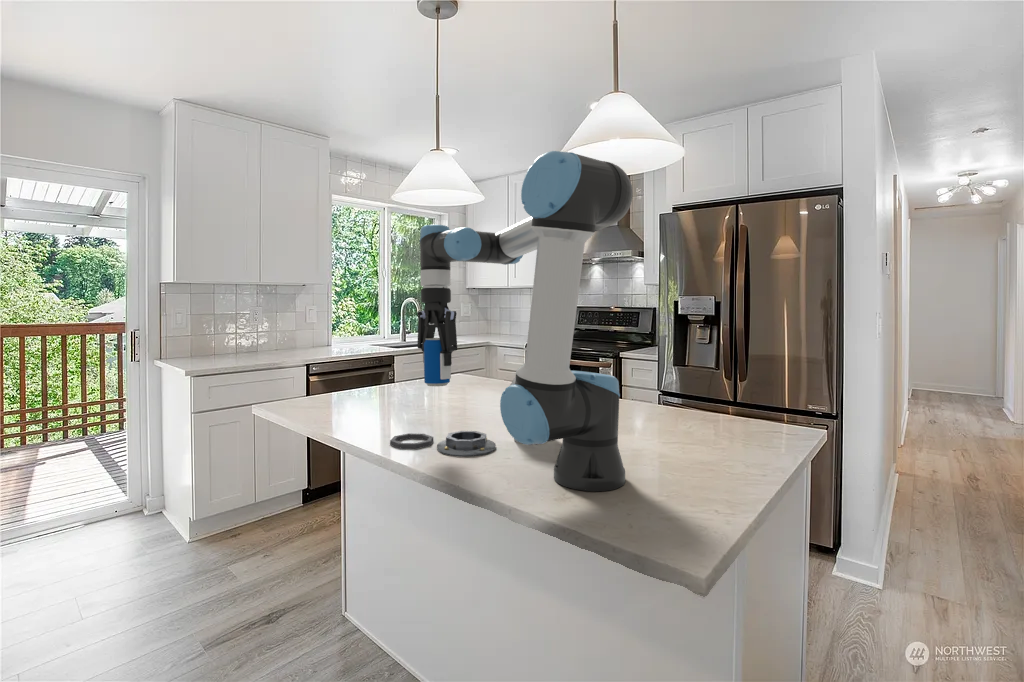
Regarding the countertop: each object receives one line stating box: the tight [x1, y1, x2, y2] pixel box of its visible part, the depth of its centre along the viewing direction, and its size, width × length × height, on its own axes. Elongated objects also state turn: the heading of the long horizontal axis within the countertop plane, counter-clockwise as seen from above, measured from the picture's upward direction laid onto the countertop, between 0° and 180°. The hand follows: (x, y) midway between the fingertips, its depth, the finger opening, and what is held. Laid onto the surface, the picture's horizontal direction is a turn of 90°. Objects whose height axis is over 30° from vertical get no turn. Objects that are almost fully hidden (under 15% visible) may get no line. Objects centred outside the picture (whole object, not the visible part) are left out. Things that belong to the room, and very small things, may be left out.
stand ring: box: [389, 432, 434, 450], centre depth 141 cm, size 10×10×1 cm
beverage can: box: [423, 337, 451, 387], centre depth 137 cm, size 6×6×12 cm
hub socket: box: [436, 430, 497, 458], centre depth 137 cm, size 15×15×3 cm
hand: (437, 377), depth 137 cm, fingers closed on beverage can, 6 cm apart
